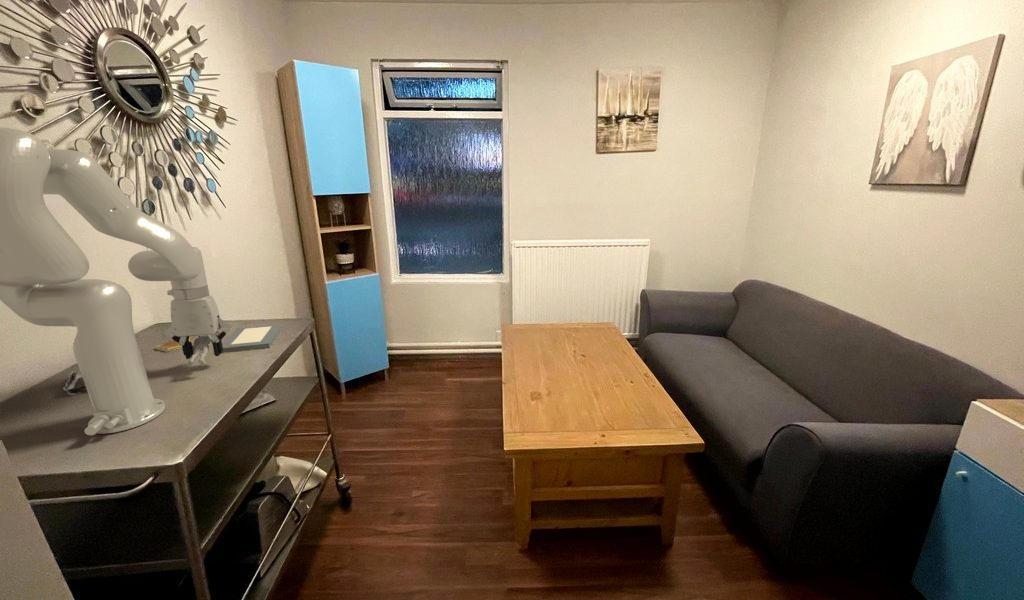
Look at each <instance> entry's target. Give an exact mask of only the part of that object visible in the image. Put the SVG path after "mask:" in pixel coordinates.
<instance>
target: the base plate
mask: <svg viewBox="0 0 1024 600" xmlns="http://www.w3.org/2000/svg"><path fill="white" fill-rule="evenodd" d="M282 328H283V329H284V325H283V324H282V323H281V324H279V323H278V324H270V325H269V324H268V325H259V326H258V325H257V326H247V327H237V328H236V329H235V330H234V331H232V333H231V334H230V335H229V336H228V337H227V338H226V339H225V340H224V341H223V342H222V346H223V351H222V353H221V354H223V353H224V352H225V353H233V352H234V353H235V352H243V350H244V351H252V350H251V349H254V350H260V349H259V348H263V349H270V348H271V347H272V346H273V344H274V342H275V341H276V339H277V338H278V336H279V335H278V333H279V332H280V331H281V329H282ZM283 329H282V330H283ZM281 332H282V331H281ZM281 332H280V333H281ZM280 333H279V334H280ZM277 335H278V336H277ZM276 337H277V338H276ZM275 338H276V339H275ZM274 340H275V341H274ZM273 341H274V342H273ZM272 343H273V344H272ZM270 346H271V347H270Z"/></svg>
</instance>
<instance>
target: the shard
mask: <svg viewBox="0 0 1024 600" xmlns="http://www.w3.org/2000/svg"><path fill="white" fill-rule="evenodd" d="M190 338H191V339H192V336H190ZM190 338H189V342H191V340H190ZM154 348H155V350H157V351H161V352H166V353H168V351H169V352H172V351H176V349H177V350H181V349H180V348H182V346H181V345H179V343H178V342H176V341H174V340H173V339H172V340H169V341H167V342H164V343H161V344H158V345H156V346H155V347H154ZM171 350H172V351H171Z"/></svg>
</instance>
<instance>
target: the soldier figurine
mask: <svg viewBox="0 0 1024 600" xmlns="http://www.w3.org/2000/svg"><path fill="white" fill-rule="evenodd" d="M210 343H211V344H212V345H213V343H214V340H213V339H212V337H211V336H210V335H200V336H197V337H196V338H195V339H194V341H193V344H192V350H193V355H192V356H191V358H190V359H188V365H187V366H188V367H189V368H194V367H195V360H196V359H198V356H199V355H200V356H199V359H198V360H197V362H198V363H200V365H199V366H203V367H205V366H206V365H207V363H206V360H205V358H207V357H208V353H209V350H210ZM201 351H202V352H201Z"/></svg>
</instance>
